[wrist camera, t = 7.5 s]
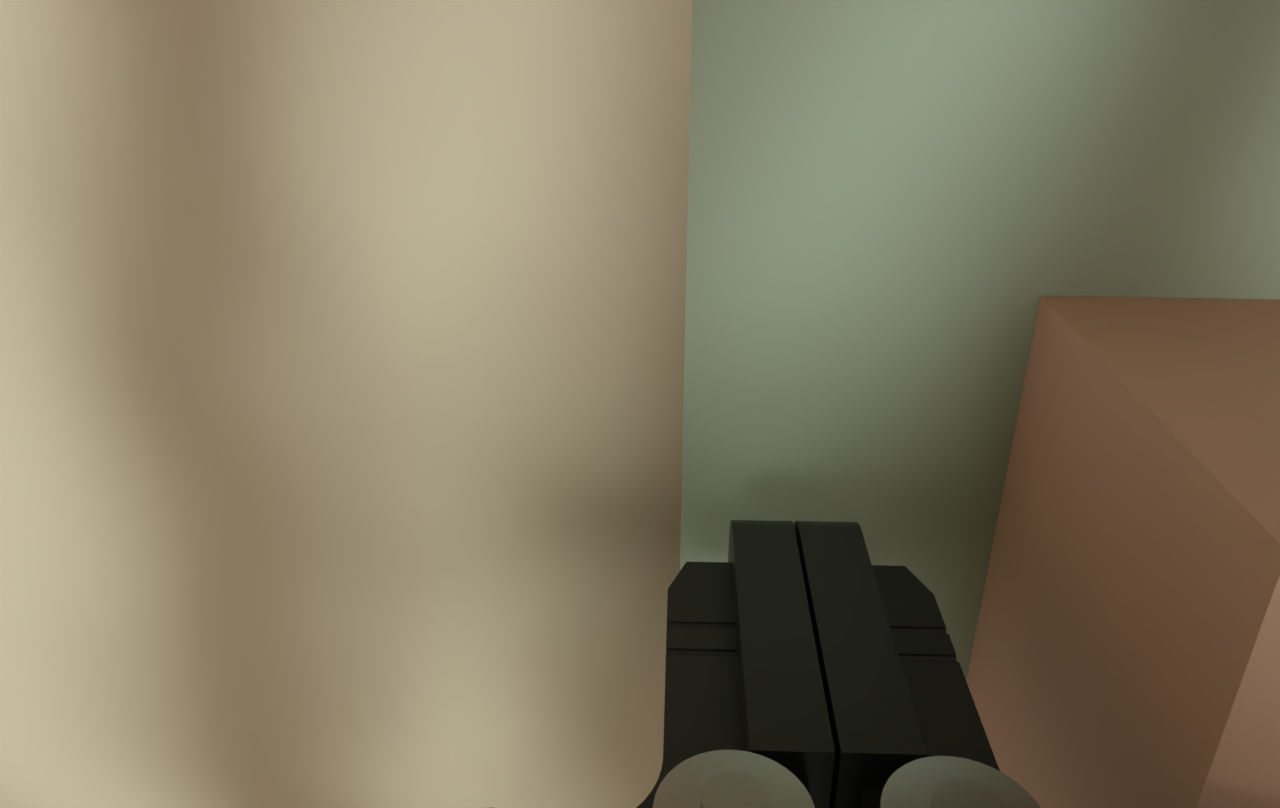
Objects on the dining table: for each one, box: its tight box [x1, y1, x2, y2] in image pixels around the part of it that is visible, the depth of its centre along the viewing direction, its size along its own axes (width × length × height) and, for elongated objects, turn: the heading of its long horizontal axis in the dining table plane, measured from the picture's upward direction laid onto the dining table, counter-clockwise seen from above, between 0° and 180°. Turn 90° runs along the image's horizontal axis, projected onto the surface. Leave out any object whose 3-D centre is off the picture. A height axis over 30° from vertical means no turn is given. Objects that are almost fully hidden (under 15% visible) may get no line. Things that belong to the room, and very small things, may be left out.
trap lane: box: [0, 0, 1280, 808], centre depth 13 cm, size 40×16×4 cm, turn 90°
